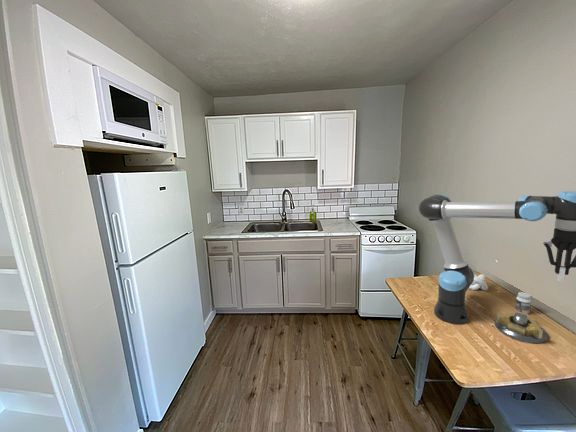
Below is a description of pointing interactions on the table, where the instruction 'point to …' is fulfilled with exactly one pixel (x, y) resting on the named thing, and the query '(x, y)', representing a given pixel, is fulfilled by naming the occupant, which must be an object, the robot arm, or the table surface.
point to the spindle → (520, 319)
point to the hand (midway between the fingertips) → (560, 280)
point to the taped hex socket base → (528, 331)
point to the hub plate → (518, 336)
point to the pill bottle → (523, 302)
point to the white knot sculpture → (479, 283)
